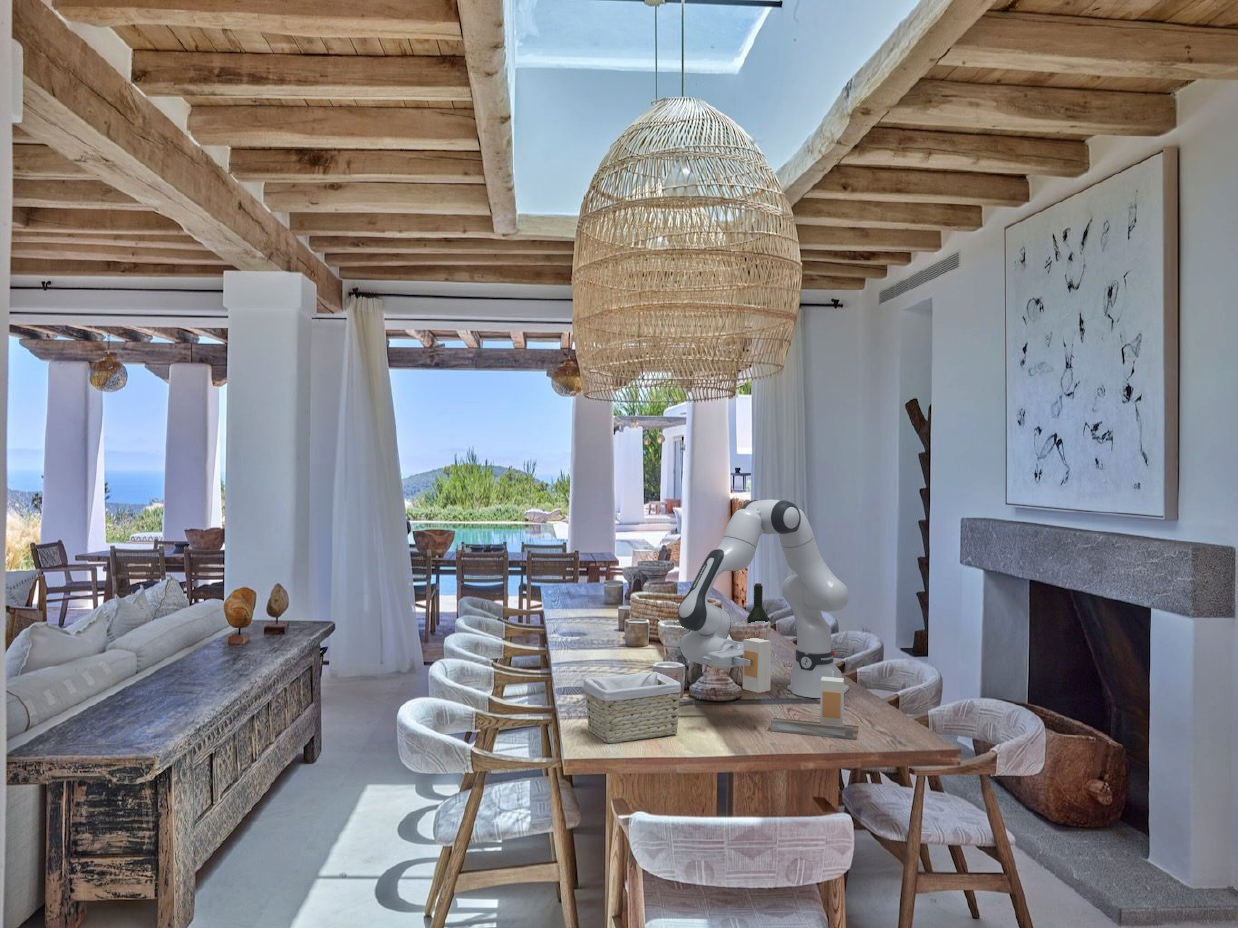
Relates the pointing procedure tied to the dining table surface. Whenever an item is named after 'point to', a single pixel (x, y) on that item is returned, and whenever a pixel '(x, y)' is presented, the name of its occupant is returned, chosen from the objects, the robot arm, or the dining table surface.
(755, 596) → the wine bottle
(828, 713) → the carton
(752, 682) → the cream carton
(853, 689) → the dining table surface
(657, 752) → the dining table surface
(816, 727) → the shelf board
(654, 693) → the storage basket
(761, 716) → the dining table surface
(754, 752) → the dining table surface
